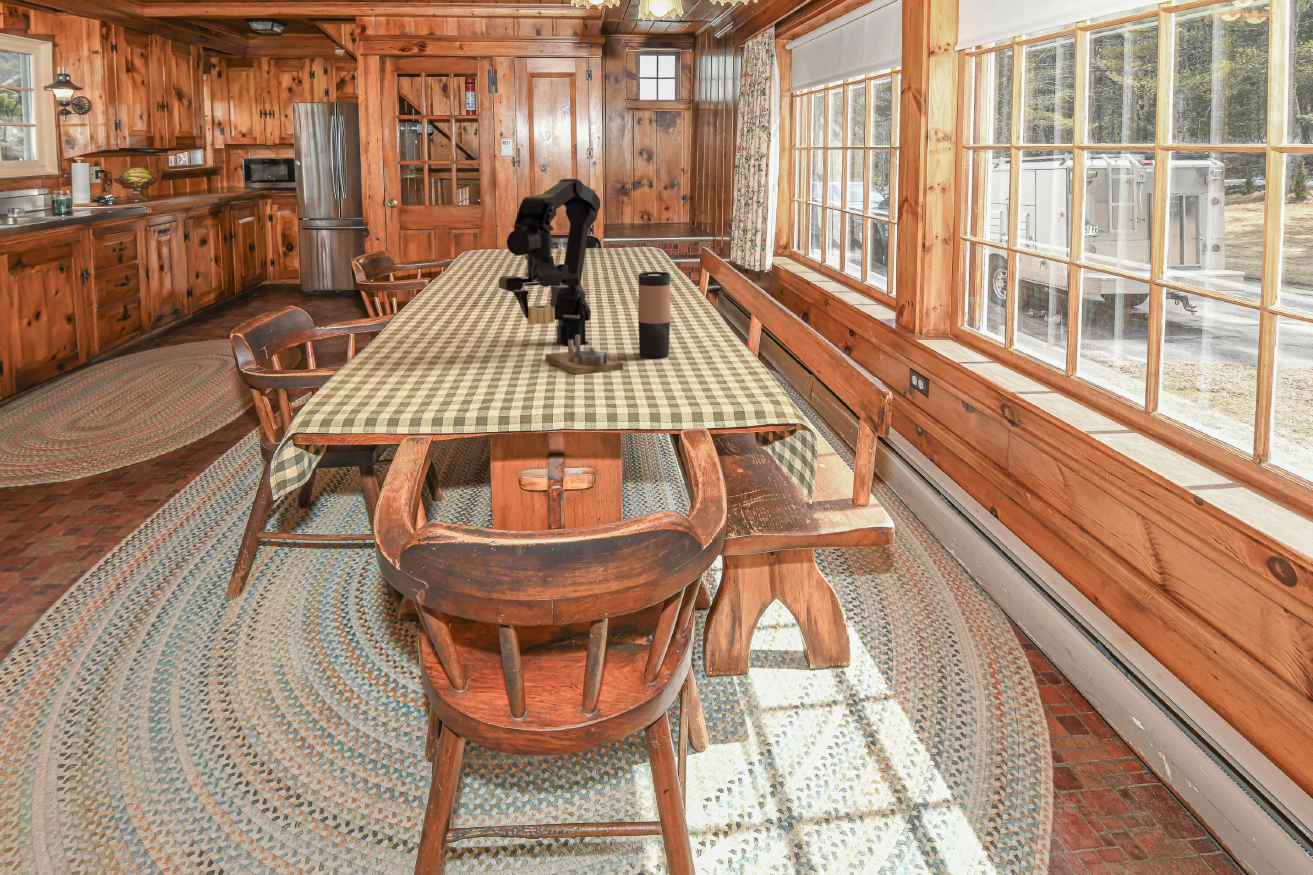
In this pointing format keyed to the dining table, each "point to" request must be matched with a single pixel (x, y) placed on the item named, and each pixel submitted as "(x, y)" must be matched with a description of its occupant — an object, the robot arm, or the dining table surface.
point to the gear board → (583, 360)
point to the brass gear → (541, 314)
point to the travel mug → (654, 314)
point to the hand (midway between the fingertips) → (540, 317)
